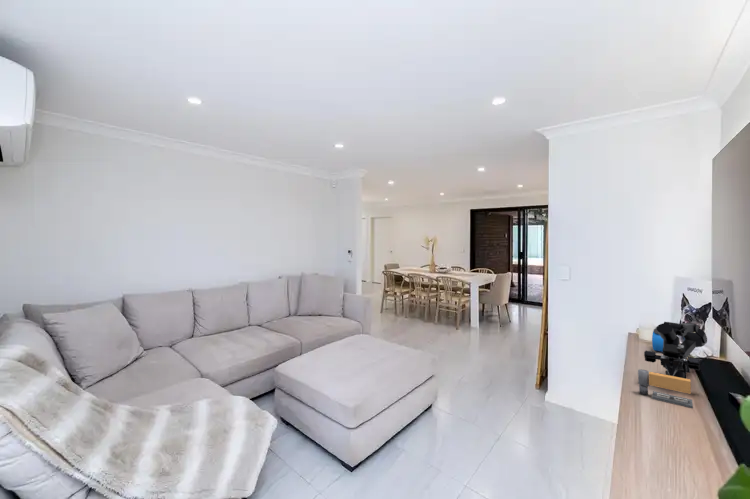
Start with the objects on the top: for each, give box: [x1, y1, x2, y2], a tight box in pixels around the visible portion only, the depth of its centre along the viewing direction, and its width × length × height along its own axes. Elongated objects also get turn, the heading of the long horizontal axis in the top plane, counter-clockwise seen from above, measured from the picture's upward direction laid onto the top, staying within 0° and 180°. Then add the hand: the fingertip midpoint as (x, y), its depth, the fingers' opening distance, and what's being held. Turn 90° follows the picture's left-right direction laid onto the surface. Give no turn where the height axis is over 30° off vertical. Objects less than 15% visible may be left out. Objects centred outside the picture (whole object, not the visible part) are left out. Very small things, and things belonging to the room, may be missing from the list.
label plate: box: [651, 390, 694, 409], centre depth 137 cm, size 12×7×1 cm, turn 46°
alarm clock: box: [651, 326, 663, 353], centre depth 199 cm, size 13×6×15 cm, turn 131°
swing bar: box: [637, 368, 692, 395], centre depth 139 cm, size 17×4×6 cm, turn 46°
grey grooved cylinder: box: [638, 384, 649, 396], centre depth 144 cm, size 3×3×4 cm
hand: (671, 377), depth 143 cm, fingers closed
